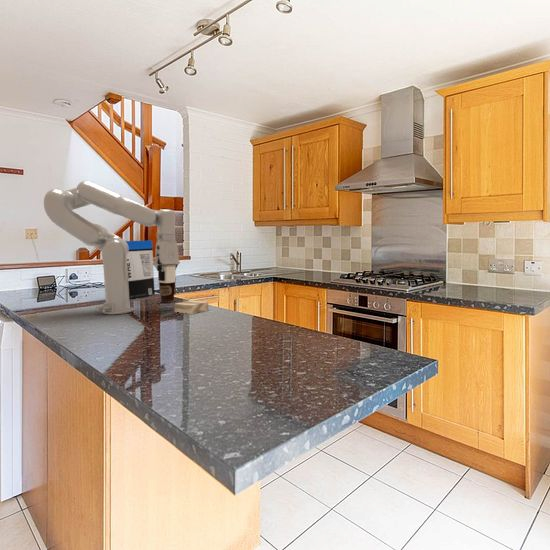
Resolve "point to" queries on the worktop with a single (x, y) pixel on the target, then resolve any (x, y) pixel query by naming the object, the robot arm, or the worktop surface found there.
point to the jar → (169, 274)
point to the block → (191, 307)
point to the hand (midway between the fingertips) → (166, 279)
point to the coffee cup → (167, 291)
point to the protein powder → (140, 269)
